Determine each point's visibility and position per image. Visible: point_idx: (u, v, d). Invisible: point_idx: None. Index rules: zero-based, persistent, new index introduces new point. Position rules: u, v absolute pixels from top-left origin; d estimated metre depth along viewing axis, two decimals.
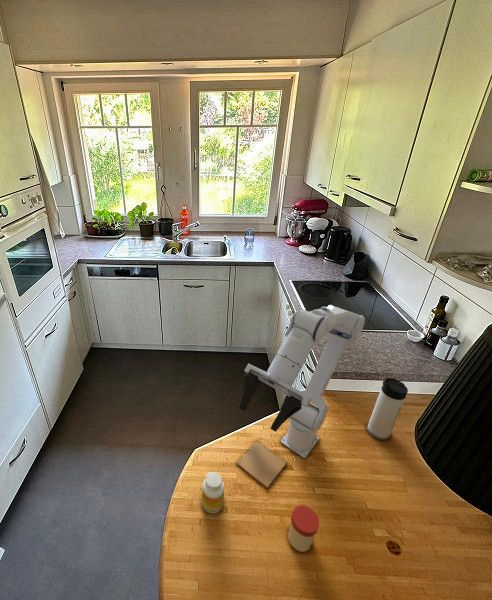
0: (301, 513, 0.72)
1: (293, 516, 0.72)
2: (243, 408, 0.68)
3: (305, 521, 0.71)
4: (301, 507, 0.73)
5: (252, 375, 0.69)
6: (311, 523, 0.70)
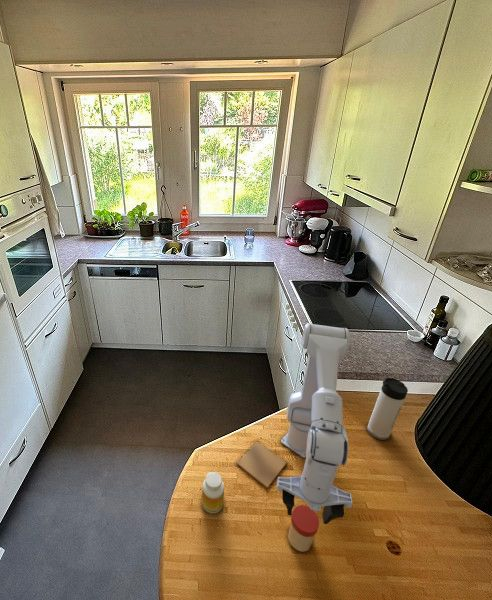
0: (301, 513, 0.72)
1: (293, 516, 0.72)
2: None
3: (305, 521, 0.71)
4: (301, 507, 0.73)
5: (287, 493, 0.68)
6: (311, 523, 0.70)
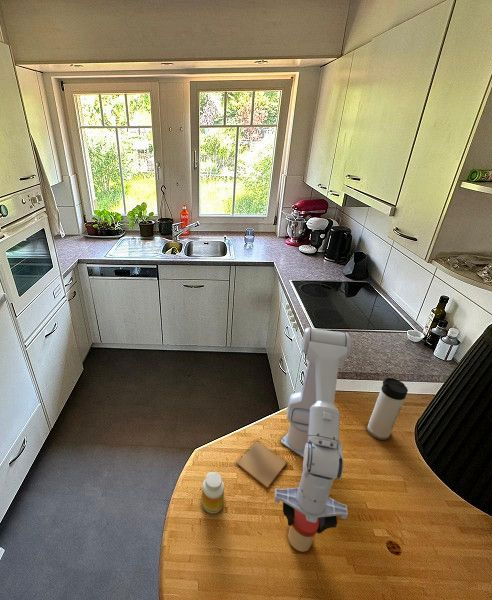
0: (301, 513, 0.72)
1: None
2: None
3: (305, 521, 0.71)
4: None
5: (284, 504, 0.69)
6: (311, 523, 0.70)
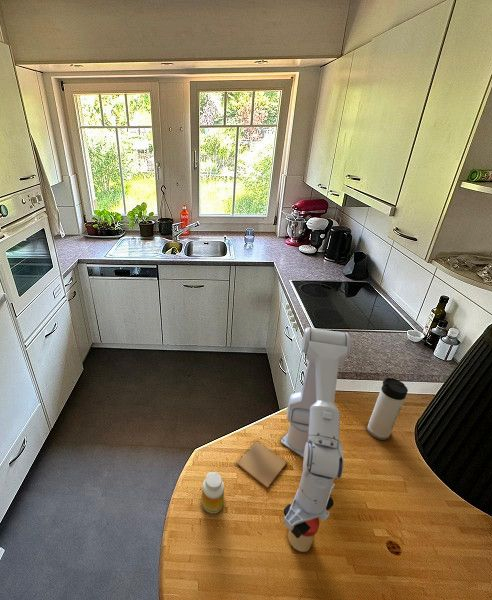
0: None
1: None
2: None
3: (308, 520, 0.71)
4: None
5: (297, 524, 0.66)
6: None
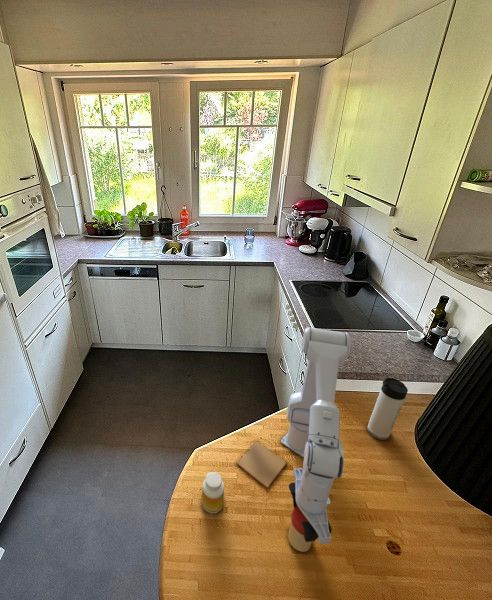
0: None
1: None
2: None
3: None
4: (297, 522, 0.70)
5: None
6: None
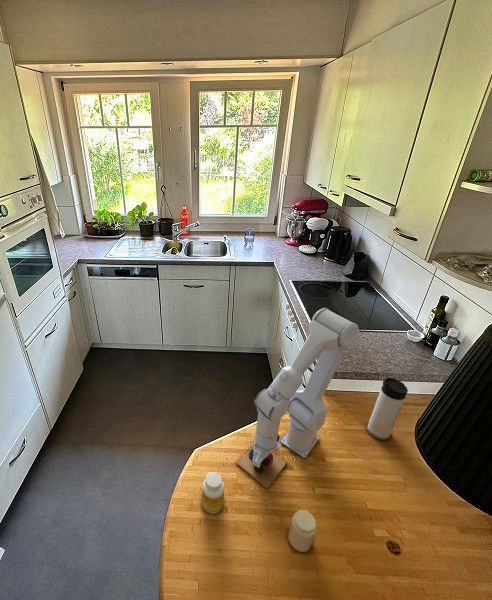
0: None
1: None
2: None
3: None
4: None
5: (261, 461, 0.84)
6: None
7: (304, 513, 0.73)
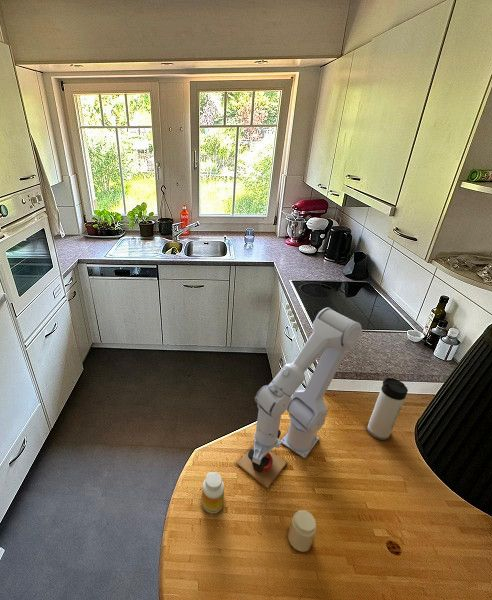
0: None
1: None
2: None
3: None
4: None
5: (262, 458, 0.83)
6: (266, 456, 0.92)
7: (304, 513, 0.73)
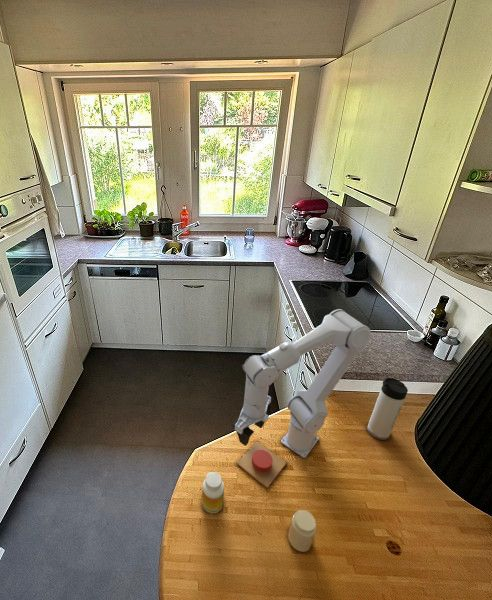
0: (258, 459, 0.91)
1: (260, 466, 0.89)
2: None
3: (264, 459, 0.91)
4: (253, 457, 0.91)
5: (245, 428, 0.82)
6: (266, 456, 0.92)
7: (304, 513, 0.73)
